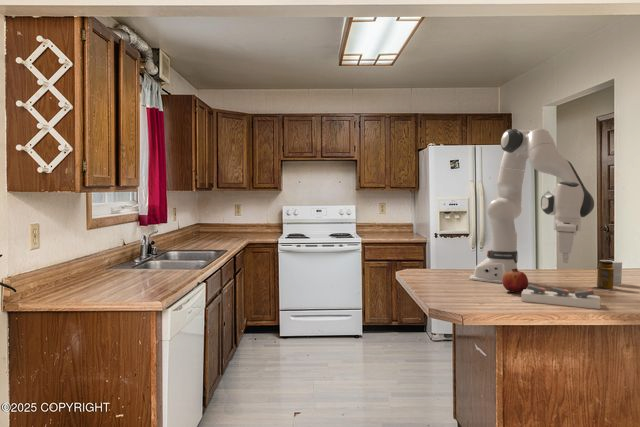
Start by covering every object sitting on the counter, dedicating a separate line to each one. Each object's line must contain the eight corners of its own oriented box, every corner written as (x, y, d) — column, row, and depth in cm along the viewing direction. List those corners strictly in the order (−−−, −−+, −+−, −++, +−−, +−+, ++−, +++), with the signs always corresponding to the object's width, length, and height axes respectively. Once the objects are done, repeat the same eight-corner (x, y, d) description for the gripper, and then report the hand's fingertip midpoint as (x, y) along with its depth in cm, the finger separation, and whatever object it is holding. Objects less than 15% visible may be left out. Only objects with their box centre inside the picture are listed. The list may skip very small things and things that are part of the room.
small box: (598, 282, 223) (598, 260, 222) (609, 282, 223) (610, 259, 223) (609, 285, 215) (610, 262, 214) (621, 285, 215) (622, 262, 215)
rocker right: (575, 296, 175) (574, 292, 175) (575, 294, 179) (574, 290, 179) (594, 294, 172) (593, 290, 172) (593, 292, 176) (592, 288, 176)
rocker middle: (550, 291, 179) (551, 287, 179) (551, 289, 182) (551, 285, 182) (568, 295, 176) (569, 292, 176) (568, 293, 180) (569, 290, 180)
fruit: (528, 295, 192) (529, 271, 192) (502, 294, 196) (502, 269, 195) (527, 291, 202) (527, 267, 202) (501, 289, 206) (502, 266, 205)
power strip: (521, 301, 183) (521, 292, 182) (523, 296, 190) (523, 288, 190) (600, 308, 170) (600, 299, 170) (599, 303, 178) (599, 294, 178)
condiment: (617, 289, 207) (618, 261, 207) (607, 291, 203) (608, 263, 202) (599, 286, 213) (600, 259, 213) (589, 288, 209) (590, 261, 208)
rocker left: (527, 288, 183) (528, 285, 183) (528, 287, 186) (529, 283, 186) (544, 293, 180) (545, 290, 180) (544, 291, 184) (545, 288, 183)
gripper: (558, 223, 188) (557, 258, 189) (556, 226, 170) (554, 265, 171) (577, 224, 185) (575, 260, 186) (576, 227, 167) (574, 267, 168)
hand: (565, 262), depth 178 cm, fingers closed
